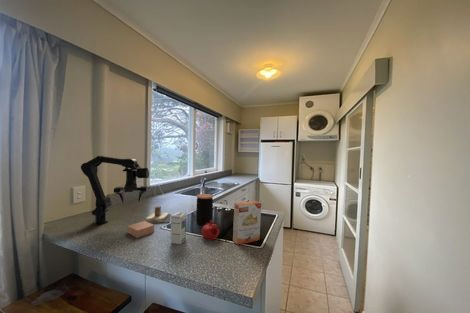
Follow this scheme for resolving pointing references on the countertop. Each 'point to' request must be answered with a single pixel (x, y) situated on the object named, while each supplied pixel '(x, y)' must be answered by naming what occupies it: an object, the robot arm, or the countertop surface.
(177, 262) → the countertop surface
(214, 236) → the pomegranate
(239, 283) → the countertop surface
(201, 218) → the coffee jar
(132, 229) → the storage box
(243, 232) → the cracker box
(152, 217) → the lid
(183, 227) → the syrup box
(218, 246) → the countertop surface
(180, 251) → the countertop surface
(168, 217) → the mat
